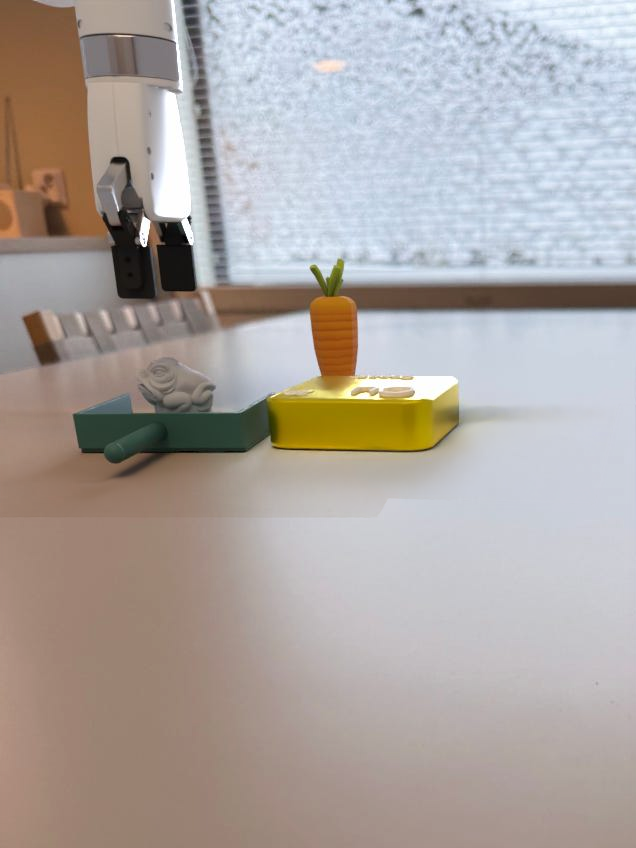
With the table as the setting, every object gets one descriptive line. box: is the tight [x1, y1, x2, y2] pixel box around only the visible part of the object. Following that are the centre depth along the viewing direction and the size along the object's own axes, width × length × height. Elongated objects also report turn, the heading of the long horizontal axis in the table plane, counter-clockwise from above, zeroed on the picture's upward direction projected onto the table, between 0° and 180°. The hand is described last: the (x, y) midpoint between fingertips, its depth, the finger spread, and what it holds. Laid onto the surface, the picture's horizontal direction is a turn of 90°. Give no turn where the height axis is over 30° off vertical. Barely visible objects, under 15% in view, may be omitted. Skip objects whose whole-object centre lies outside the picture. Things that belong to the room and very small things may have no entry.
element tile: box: [267, 374, 460, 452], centre depth 88 cm, size 15×15×5 cm
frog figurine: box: [134, 356, 217, 413], centre depth 87 cm, size 6×7×7 cm
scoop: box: [72, 392, 276, 465], centre depth 83 cm, size 21×15×3 cm
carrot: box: [309, 258, 359, 376], centre depth 102 cm, size 5×5×15 cm
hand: (160, 294), depth 84 cm, fingers open, 9 cm apart
